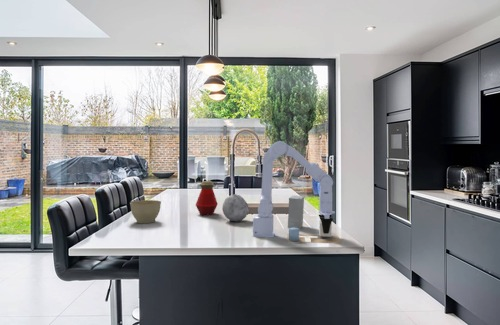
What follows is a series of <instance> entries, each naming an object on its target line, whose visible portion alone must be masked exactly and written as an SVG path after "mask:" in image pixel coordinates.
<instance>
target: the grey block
mask: <svg viewBox="0 0 500 325" xmlns="http://www.w3.org/2000/svg"><path fill="white" fill-rule="evenodd" d="M332 223H333V222H331V225H330V229H329V233H323V227H322V222H321V220H319V221H318V224H319V225H318V233H319V234H318V235H320V236H330V237H331V235H332V232H333V231H332V227H333V226H332Z"/></svg>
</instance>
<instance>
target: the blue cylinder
mask: <svg viewBox="0 0 500 325" xmlns="http://www.w3.org/2000/svg"><path fill="white" fill-rule="evenodd" d="M288 234H289V241H294V242H293V243H296V242H295V241H299V234H300V229H299V228H288Z"/></svg>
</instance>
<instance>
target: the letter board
mask: <svg viewBox="0 0 500 325" xmlns="http://www.w3.org/2000/svg"><path fill="white" fill-rule="evenodd" d="M299 236H317V237H318V238H310V239H311V242H308V243H310V244H311V243H314V244H317V243H318V244H342V241H341V239H340V236H339V235H333V234H331V237H330V236H320V235H319V234H301V233H299ZM286 242H287V243H288V242H289V243H306V242H305V237H299V241H295V242H294V241H289V233H287V235H286Z"/></svg>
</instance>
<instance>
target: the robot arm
mask: <svg viewBox="0 0 500 325" xmlns="http://www.w3.org/2000/svg"><path fill="white" fill-rule="evenodd" d="M284 155H285V156H287V157H291V158H293V159H294V160H295V161H296V162H297V163H299V164H300V165H301V166H302V167H304V168H305V173H306V174H307V175H308V176H310V177H311V178H312V179H313V180H314V181H315V182H318V184H319V185H320V186H319V191H318V192H319V195H318V197H319V198H318V204H319V206H318V210H319V211H318V217H319V221H321V222H322V227H323V233H329V229H330V225H331V223H333V222H332V221H333V220H334V218H333V217H332V215H333V214H336V211H334V210H333V185H334V180H333V178H332V177H331V175H330V174H328V172H327V171H325V170H324V169H323V168H321V167H320V165H319V163H315V162H310V161H309V160H308V159H306V158H305V157H304V156H303V155H302V154H301V153H300V152H299V151H298V150H296V148H294V147H292V146H291V145H289V144H287V142H286V141H285V142H284V141H282V140H278V141H275V142H274V143H273V144H271V145H270V146H269V149H268V150H267V151H266V152H265V154H264V155H263V157H262V173H261V174H262V176H261V194H260V200H259V205H258V207H257V213H258V214H257V215H254V216H253V218H252V237H255V238H275V234H276V233H275V232H274V214H273V213H272V212H273V210H274V203H273V200H272V199H273V198H272V195H273V194H272V193H273V192H272V190H273V177H274V176H273V172H274V171H273V170H274V161H275V160H277V159H278V158H279V157H281V156H284Z"/></svg>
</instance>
